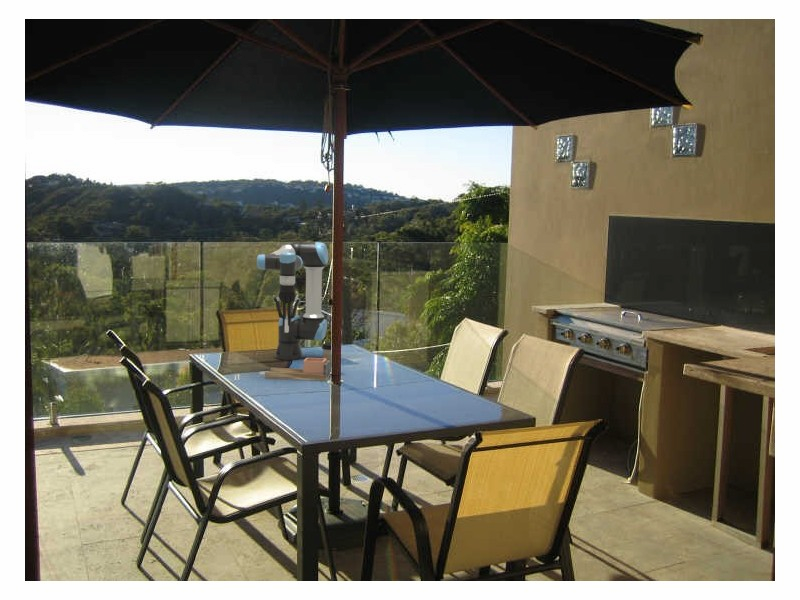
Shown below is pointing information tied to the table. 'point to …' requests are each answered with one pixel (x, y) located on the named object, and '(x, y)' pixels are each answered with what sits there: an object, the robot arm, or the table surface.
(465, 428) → the table surface
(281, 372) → the bay
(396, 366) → the table surface
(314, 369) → the box
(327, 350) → the coffee cup
